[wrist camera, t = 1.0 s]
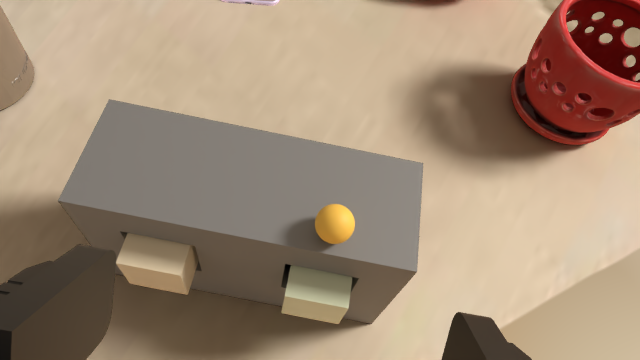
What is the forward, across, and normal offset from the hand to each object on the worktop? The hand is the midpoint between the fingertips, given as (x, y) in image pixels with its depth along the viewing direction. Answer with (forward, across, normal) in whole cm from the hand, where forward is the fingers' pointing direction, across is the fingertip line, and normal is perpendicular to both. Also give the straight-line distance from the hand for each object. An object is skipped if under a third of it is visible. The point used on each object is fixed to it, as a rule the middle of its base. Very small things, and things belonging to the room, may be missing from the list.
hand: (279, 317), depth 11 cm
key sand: (+23, +9, +10) cm, 27 cm away
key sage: (+23, -2, +10) cm, 25 cm away
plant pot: (+46, -27, -6) cm, 54 cm away
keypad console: (+30, +4, +11) cm, 32 cm away
